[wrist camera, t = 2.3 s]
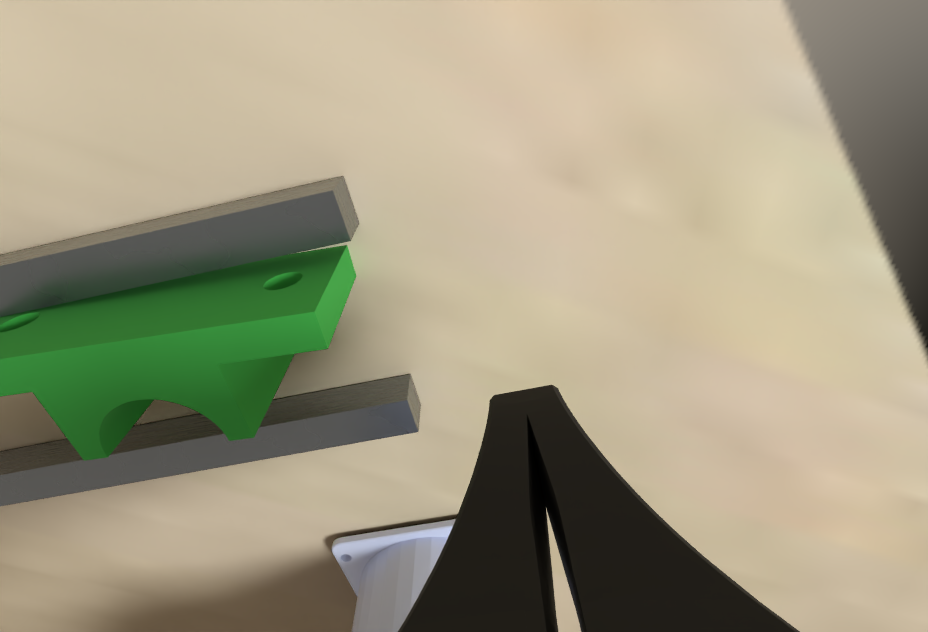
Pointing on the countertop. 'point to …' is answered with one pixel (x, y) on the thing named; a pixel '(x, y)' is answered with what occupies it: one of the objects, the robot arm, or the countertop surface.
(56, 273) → the guide track
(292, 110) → the countertop surface
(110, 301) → the pipe clamp
